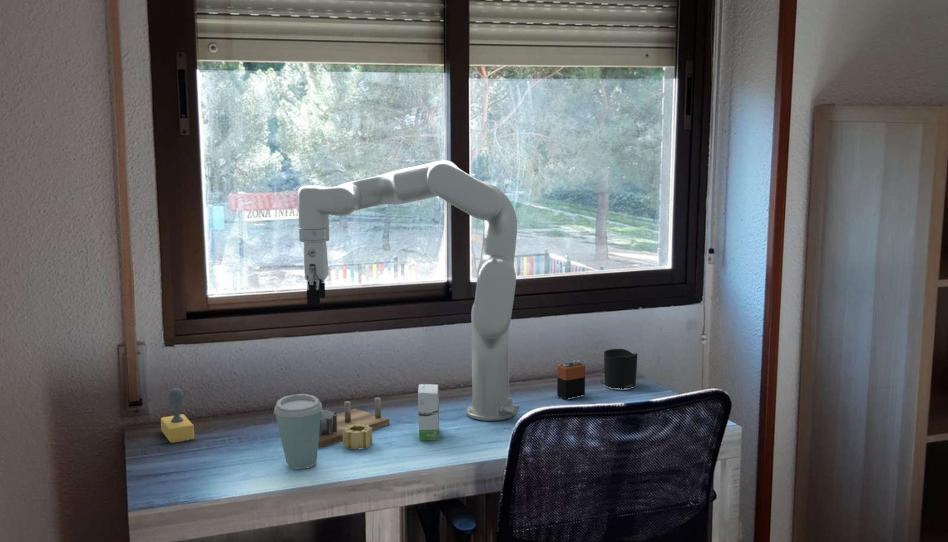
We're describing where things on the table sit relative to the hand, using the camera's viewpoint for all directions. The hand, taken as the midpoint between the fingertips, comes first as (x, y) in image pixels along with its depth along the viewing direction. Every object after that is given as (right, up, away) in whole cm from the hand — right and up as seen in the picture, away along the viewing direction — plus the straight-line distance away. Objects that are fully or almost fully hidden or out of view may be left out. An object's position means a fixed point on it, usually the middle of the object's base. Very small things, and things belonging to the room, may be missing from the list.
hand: (316, 301), depth 240 cm
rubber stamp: (-33, -33, -9) cm, 47 cm away
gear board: (+7, -32, -6) cm, 33 cm away
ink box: (+29, -32, -10) cm, 45 cm away
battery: (+67, -27, +20) cm, 75 cm away
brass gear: (+13, -33, -17) cm, 39 cm away
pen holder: (+82, -26, +29) cm, 91 cm away
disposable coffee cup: (+1, -36, -29) cm, 46 cm away
